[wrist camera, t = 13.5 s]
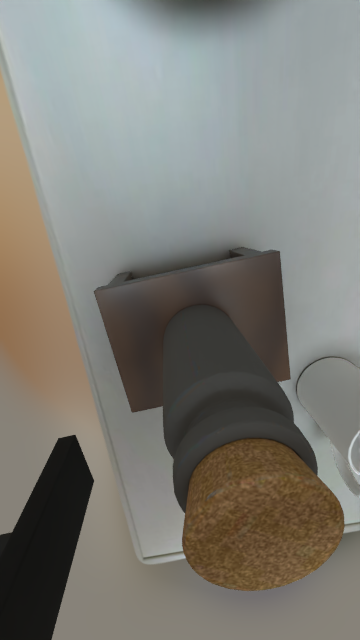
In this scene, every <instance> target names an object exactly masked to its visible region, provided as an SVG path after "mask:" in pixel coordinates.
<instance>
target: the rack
mask: <svg viewBox="0 0 360 640" xmlns="http://www.w3.org/2000/svg"><path fill="white" fill-rule="evenodd" d="M230 258H231V259H226V260H222V261H217V262H212V263H208V264H203V265H198V266H194V267H189V268H185V269H180V270H175V271H171V272H166V273H161V274H157V275H152V276H148V277H143V278H138V279H134V280H133V277H132V273H131V272H126V273H121V274H118V275H117V276H116V277H115V278H114V279H113V280H112V281H111V282H110V283H109V284H108V285H106V286H101V287H98V288H97V289H96V290H95V291H94V294H95V297H96V300H97V303H98V306H99V309H100V313H101V316H102V319H103V322H104V325H105V328H106V331H107V335H108V338H109V341H110V344H111V347H112V350H113V354H114V357H115V360H116V363H117V366H118V369H119V373H120V376H121V379H122V382H123V385H124V388H125V392H126V395H127V398H128V401H129V404H130V407H131V411H132V412H137V411H142V410H147V409H152V408H156V407H161V406H163V340H164V333H165V329H166V327H167V325H168V323H169V321H170V320H171V319H172V318H173V316H175V315H176V314H177V313H178V312H179V311H181V310H183V309H185V308H187V307H190V306H193V305H209V306H213V307H215V308H218V309H219V310H221V311H223V312H224V313H225V314H226V315H227V316H228V317H229V318H230V319H231V320H232V322H233V323H234V324H235V325H236V327H237V328H238V329H239V331H240V332H241V333H242V335H243V336H244V337H245V339H246V340H247V341H248V343H249V344H250V345H251V347H252V348H253V349H254V351H255V352H256V353H257V355H258V356H259V358H260V359H261V360H262V362H263V363H264V364H265V366H266V367H267V368H268V370H269V371H270V373H271V374H272V375H273V377H274V378H275V380H276V381H277V382H280V381H285V380H289V379H290V368H289V356H288V344H287V332H286V321H285V309H284V297H283V285H282V273H281V262H280V251H276V250H268V251H263V252H261V251H256V250H252V249H248V248H244V247H241V248H236V249H232V250H230Z"/></svg>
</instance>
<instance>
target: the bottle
mask: <svg viewBox="0 0 360 640" xmlns="http://www.w3.org/2000/svg"><path fill="white" fill-rule="evenodd" d="M163 427H164V439H165V443H166V446H167V449H168V451H169V453H170V454H171V456H172V457H173V459H174V463H173V483H174V492H175V495H176V498H177V501H178V503H179V505H180V507H181V509H182V510H183V512H184V513H185V520H184V528H183V537H182V546H183V551H184V554H185V556H186V559H187V561H188V563H189V564H190V566H191V567H192V569H193V570H194V571H195V572H196V573H197V574H198V575H200V576H201V577H203V578H204V579H206V580H207V581H209V582H211V583H213V584H215V585H218V586H221V587H225V588H228V589H234V590H242V591H254V590H256V591H257V590H266V589H272V588H276V587H280V586H284V585H287V584H289V583H292V582H294V581H297V580H299V579H302V578H303V577H305V576H307V575H308V574H310V573H311V572H313V571H315V570H316V569H317V568H319V567H320V566H321V565H322V564H323V563H324V562H326V561H327V560H328V559H329V557H330V556H331V555H332V554H333V553H334V551H335V550H336V548H337V546H338V545H339V543H340V541H341V538H342V535H343V531H344V514H343V510H342V508H341V505H340V502H339V501H338V499H337V498H336V496H335V495H334V494H333V492H332V491H331V490H330V489H329V488H328V487H327V486H326V485H325V484H324V483H323V482H322V481H321V480H320V478H319V477H318V476H317V470H318V467H317V462H316V457H315V454H314V451H313V450H312V448H311V446H310V444H309V442H308V441H307V440H306V438H305V437H304V435H303V434H302V432H301V431H300V430H299V428H298V427H297V426H296V425H295V424H294V418H293V411H292V407H291V404H290V401H289V400H288V398H287V396H286V394H285V393H284V391H283V390H282V388H281V387H280V385H279V384H278V383H277V381H276V380H275V378H274V377H273V375H272V374H271V373H270V371H269V370H268V368H267V367H266V366H265V364H264V363H263V362H262V360H261V359H260V358H259V356H258V355H257V353H256V352H255V351H254V349H253V348H252V347H251V345H250V344H249V343H248V341H247V340H246V339H245V337H244V336H243V335H242V333H241V332H240V331H239V329H238V328H237V327H236V325H235V324H234V323H233V322H232V320H231V319H230V318H229V317H228V316H227V315H226V314H225V313H224V312H223V311H221V310H219V309H218V308H215V307H213V306H209V305H193V306H190V307H187V308H185V309H183V310H181V311H179V312H178V313H177V314H176V315H175V316H173V318H172V319H171V320H170V321H169V323H168V325H167V327H166V329H165V333H164V340H163Z"/></svg>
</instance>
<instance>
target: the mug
mask: <svg viewBox="0 0 360 640" xmlns="http://www.w3.org/2000/svg"><path fill="white" fill-rule="evenodd" d="M297 395H298V399H299V401H300V402H301V404H302V405H303V406H304V408H305V409H306V410H307V412H308V413H309V414H310V415H311V417H312V418H313V419H314V420H315V422H316V423H317V424H318V426H319V427H320V428H321V429H322V431H323V432H324V433H325V435H326V436H327V437H328V438H329V440H330V443H331V448H332V452H333V456H334V459H335V462H336V465H337V468H338V470H339V472H340V474H341V476H342V478H343V480H344V482H345V484H346V485H347V487H348V488H349V489H350V491H351V492H352V493H353V494H354V495H355V496H357V497H359V498H360V485H359V484H358V482H357V481H356V479H355V477H354V476H353V474H352V472H351V470H350V468H349V466H348V464H349V465H350V467H351V468H352V469H353V470H354V472H355V473H357V474H358V475H360V369H359V368H357V367H356V366H355V365H353V364H352V363H351V362H349V361H347V360H345V359H342V358H333V357H331V358H325V359H322V360H319V361H316V362H315V363H313V364H312V365H310V366H309V367H308V368H307V369H306V370H305V371H304V372H303V373H302V375H301V377H300V378H299V381H298V384H297Z"/></svg>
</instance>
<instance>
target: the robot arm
mask: <svg viewBox="0 0 360 640" xmlns="http://www.w3.org/2000/svg"><path fill="white" fill-rule="evenodd" d="M93 483H94V479H93V477H92V475H91V472H90V470H89V467H88V465H87V462H86V460H85V458H84V455H83V452H82V450H81V448H80V445H79V443H78V440H77V438H76V435H72V436H67V437H63V438H58V441H57V443H56V445H55V447H54V449H53V451H52V453H51V455H50V457H49V459H48V461H47V463H46V465H45V467H44V469H43V471H42V473H41V475H40V477H39V479H38V482H37V483H36V485H35V487H34V489H33V491H32V493H31V495H30V497H29V500H28V501H27V503H26V505H25V508H24V509H23V512H22V514H21V516H20V518H19V520H18V522H17V524H16V526H15V528H14V530H13V532H12V533H7V534H2V535H0V640H51V639H52V635H53V631H54V628H55V624H56V620H57V617H58V613H59V609H60V605H61V602H62V598H63V594H64V590H65V587H66V583H67V579H68V576H69V572H70V568H71V565H72V561H73V557H74V553H75V549H76V546H77V542H78V538H79V535H80V531H81V527H82V524H83V520H84V516H85V512H86V509H87V505H88V501H89V498H90V494H91V490H92V486H93Z"/></svg>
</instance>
